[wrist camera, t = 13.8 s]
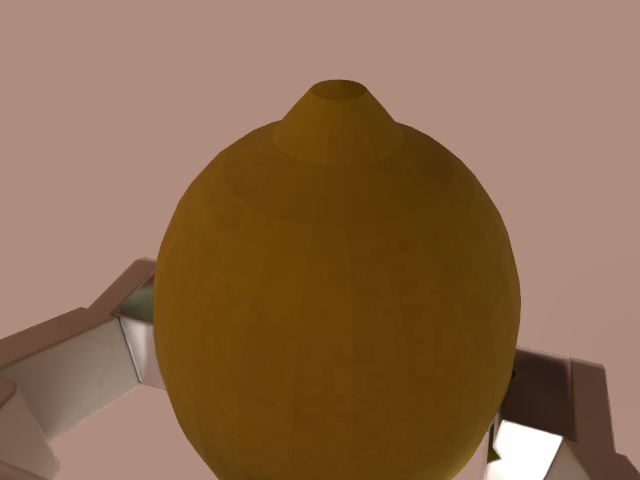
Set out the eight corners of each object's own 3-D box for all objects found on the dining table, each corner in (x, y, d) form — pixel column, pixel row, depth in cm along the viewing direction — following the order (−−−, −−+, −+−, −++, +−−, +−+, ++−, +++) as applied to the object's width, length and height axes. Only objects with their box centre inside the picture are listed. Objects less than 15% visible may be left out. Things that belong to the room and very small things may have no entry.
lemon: (217, 7, 9) (254, 336, 14) (-41, 163, 5) (143, 560, 9) (567, 32, 8) (472, 381, 13) (653, 267, 3) (460, 659, 8)
